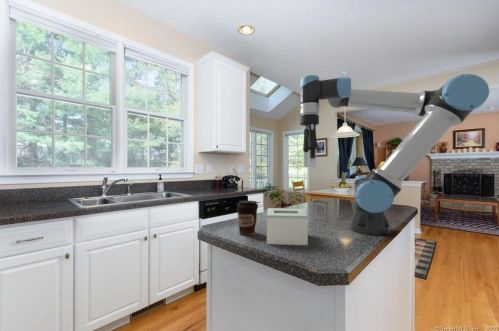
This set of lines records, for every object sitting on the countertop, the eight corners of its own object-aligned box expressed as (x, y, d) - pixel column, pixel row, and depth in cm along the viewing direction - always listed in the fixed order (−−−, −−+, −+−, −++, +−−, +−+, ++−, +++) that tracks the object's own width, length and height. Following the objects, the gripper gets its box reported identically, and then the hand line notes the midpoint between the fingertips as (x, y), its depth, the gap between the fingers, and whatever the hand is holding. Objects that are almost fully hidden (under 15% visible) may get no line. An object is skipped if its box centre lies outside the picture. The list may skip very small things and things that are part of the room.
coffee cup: (255, 237, 91) (255, 203, 91) (234, 236, 93) (234, 202, 93) (259, 231, 100) (259, 200, 100) (240, 230, 102) (240, 199, 102)
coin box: (302, 233, 96) (302, 208, 96) (307, 245, 83) (307, 216, 83) (267, 232, 98) (267, 208, 98) (266, 243, 84) (266, 215, 84)
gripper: (296, 120, 111) (296, 166, 111) (304, 108, 86) (304, 167, 86) (313, 120, 110) (313, 166, 110) (325, 107, 85) (325, 167, 85)
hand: (309, 167), depth 98 cm, fingers open, 13 cm apart
